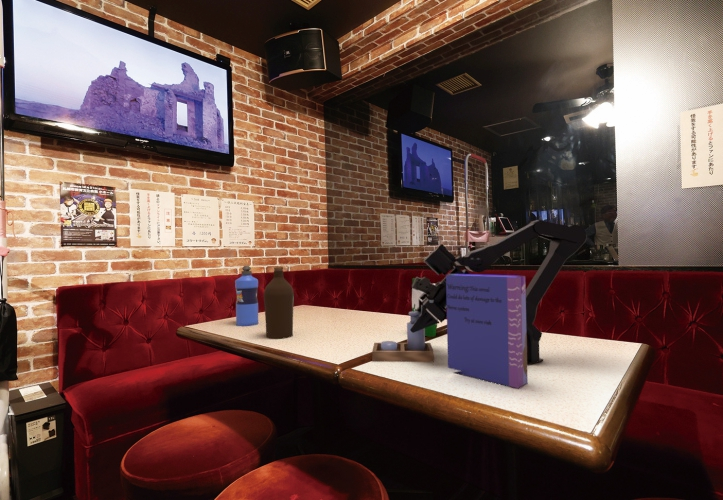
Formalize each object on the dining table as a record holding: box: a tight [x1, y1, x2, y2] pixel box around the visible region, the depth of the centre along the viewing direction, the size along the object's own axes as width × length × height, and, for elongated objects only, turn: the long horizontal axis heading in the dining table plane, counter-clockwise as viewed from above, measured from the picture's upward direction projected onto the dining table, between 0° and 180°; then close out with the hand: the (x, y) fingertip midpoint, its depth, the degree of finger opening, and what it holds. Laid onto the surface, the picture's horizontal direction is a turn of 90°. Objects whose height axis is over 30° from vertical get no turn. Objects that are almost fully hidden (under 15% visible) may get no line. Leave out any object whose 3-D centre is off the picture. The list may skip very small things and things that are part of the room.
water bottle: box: [234, 265, 259, 327], centre depth 162 cm, size 9×9×25 cm
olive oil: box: [263, 266, 295, 340], centre depth 137 cm, size 11×11×25 cm
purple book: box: [445, 273, 529, 390], centre depth 88 cm, size 17×5×24 cm, turn 43°
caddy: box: [371, 342, 435, 363], centre depth 104 cm, size 16×10×4 cm, turn 85°
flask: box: [406, 310, 426, 351], centre depth 104 cm, size 5×5×12 cm
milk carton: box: [411, 277, 438, 338], centre depth 135 cm, size 9×9×20 cm
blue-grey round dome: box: [380, 340, 398, 351], centre depth 104 cm, size 4×4×4 cm
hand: (410, 327), depth 104 cm, fingers open, 9 cm apart
